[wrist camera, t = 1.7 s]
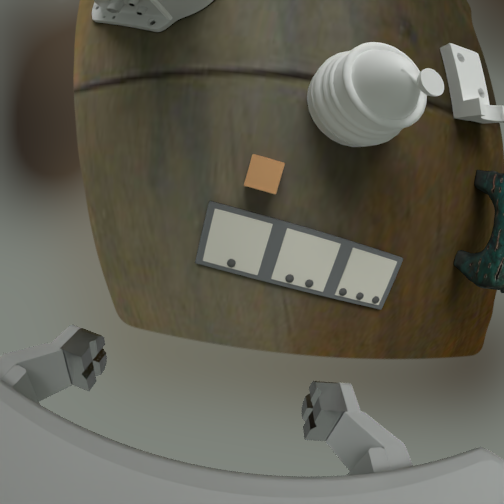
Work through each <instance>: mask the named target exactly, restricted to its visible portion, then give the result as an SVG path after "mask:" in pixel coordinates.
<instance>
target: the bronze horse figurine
mask: <svg viewBox="0 0 504 504" xmlns="http://www.w3.org/2000/svg"><path fill="white" fill-rule="evenodd" d="M475 186H476V188H477V189H479V190H480V191H483V192H484V193H486V194H488V195H489V197H490V198H491V200H492V202H493V204H494V207H495V218H494V227H493V231H492V235H491V238H490V240H489V242H488V244H487V246H486V247H485V249H484V250H483V251H482V252H479V253H475V254H473V253H469V252H466V251H462V250H460V251H458V252H457V254H456V257H455V261H454V266H456V267H457V268H458V269H459V270H460V271H461V272H462V273H463V274H464V275H465V276H466V277H467V278H468V279H469V280H470V281H472V282H473V283H474V284H476V285H477V286H479V287H481V288H489V289H496V290H501V293H504V174H500V173H498V172H495V171H481V170H477V172H476V177H475Z"/></svg>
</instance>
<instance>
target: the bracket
mask: <svg viewBox="0 0 504 504" xmlns="http://www.w3.org/2000/svg"><path fill="white" fill-rule="evenodd" d="M440 51H441V54H442V58H443V62H444V66H445V71H446V75H447V80H448V85H449V90H450V96H451V102H452V108H453V115H454V118H456V119H461V120H466V121H474V122H479V123H498V122H504V106H503V105H501V106H496V105H490V104H489V99H488V93H487V88H486V83H485V79H484V74H483V70H482V66H481V62H480V59H479V55H478V53H476V52H473V51H471V50H468V49H466V48H463V47H460V46H457V45H454V44H452V43H449V44H447V45H445V46H443V47H441V48H440Z"/></svg>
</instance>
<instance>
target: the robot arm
mask: <svg viewBox="0 0 504 504" xmlns="http://www.w3.org/2000/svg"><path fill="white" fill-rule="evenodd" d="M94 1H95V2H94V5H93V9H92V19H93V20H94V21H95V22H99V23H107V24H114V25H121V26H128V27H133V28H139V29H144V30H149V31H154V32H161V31H163V30H165V29H167V28H168V27H169V26H171V25H172V24H173V23H174V22H176V21H177V20H179V19H181V18H184V17H186V16H189V15H191V14H194V13H196V12H198V11H200V10H201V9H203V8H205V7H206V6H208V5H209V4H210V3H211V2H212V1H214V0H94ZM154 22H155V24H153V25H152V23H154ZM104 345H105V341H104V337H103V336H101V335H98V334H96V333H93V332H91V331H88V330H86V329H83V328H80V327H78V326H75V325H70V326H68V327H67V328H66V329H65V330H64V331H63V332H62V333H61V334H60V335H59V336H58V337H57V338H56V339H55V340H54V341H53V342H51V343H50V344H49V343H44V344H41V345H37V346H33V347H29V348H25V349H21V350H17V351H13V352H9V353H5V354H2V355H1V356H0V504H504V460H503V459H502V458H500V457H499V456H497V455H496V454H494V453H492V452H491V451H489V450H487V449H485V448H476V449H472V450H469V451H466V452H463V453H461V454H457V455H454V456H451V457H447V458H444V459H440V460H437V461H433V462H429V463H425V464H420V465H416V466H413V465H412V462H411V460H410V457H409V454H408V452H407V449H406V447H405V444H404V443H403V442H402V441H400V440H399V439H398V438H396V437H395V436H394V435H392V434H391V433H390V432H389V431H387V430H386V429H385V428H384V427H382V426H381V425H380V424H379V423H377V422H376V421H375V420H374V419H372V418H371V417H370V416H369V415H368V414H366V413H365V412H361V410H360V407H359V404H358V402H357V399H356V396H355V393H354V390H353V387H352V385H351V384H350V383H333V382H320V381H313V382H312V383H311V385H310V387H309V390H310V394H308V395H307V396H306V397H305V399H304V401H303V405H302V419H303V420H304V421H305V424H304V426H303V429H304V438H305V440H318V441H319V440H320V441H326V443H327V444H328V445H329V447H330V448H331V449H332V450H333V452H334V453H335V454H336V455H337V456H338V458H339V459H340V460H341V461H342V462H343V464H344V465H345V466H346V467H347V468H348V470H349V471H350V472H349V473H348V474H347V475H345V476H327V477H326V476H323V477H295V476H294V477H293V476H272V475H260V474H250V473H242V472H234V471H227V470H221V469H215V468H209V467H204V466H199V465H194V464H189V463H185V462H181V461H177V460H173V459H169V458H166V457H162V456H159V455H155V454H152V453H149V452H145V451H142V450H139V449H136V448H133V447H130V446H128V445H125V444H122V443H119V442H117V441H114V440H112V439H109V438H106V437H104V436H102V435H99V434H97V433H95V432H92V431H90V430H88V429H86V428H83V427H81V426H79V425H77V424H75V423H73V422H71V421H69V420H67V419H65V418H63V417H61V416H59V415H57V414H55V413H53V412H52V411H50V410H48V409H46V408H44V407H43V406H41V405H40V404H39V401H41V400H43V399H45V398H47V397H49V396H51V395H53V394H55V393H57V392H59V391H61V390H63V389H65V388H67V387H69V386H71V385H75V386H77V387H79V388H82V389H84V390H87V391H90V389H91V388H92V387H93V385H94V384H95V382H96V377H95V376H98V375H101V374H102V372H103V371H104V369H105V366H106V359H107V356H106V352H105V351H104V349H103V346H104Z"/></svg>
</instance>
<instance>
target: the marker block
mask: <svg viewBox="0 0 504 504" xmlns="http://www.w3.org/2000/svg"><path fill="white" fill-rule="evenodd" d="M284 165H285V163H283V162H280V161H276V160H273V159H269V158H266V157H262V156H258V155H255V154H252V158H251V162H250V165H249V169H248V172H247V176H246V180H245V183H244V186H247V187H251V188H254V189H258V190H262V191H265V192H269V193H272V194H276V192H277V189H278V185H279V182H280V179H281V175H282V172H283V168H284Z"/></svg>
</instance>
